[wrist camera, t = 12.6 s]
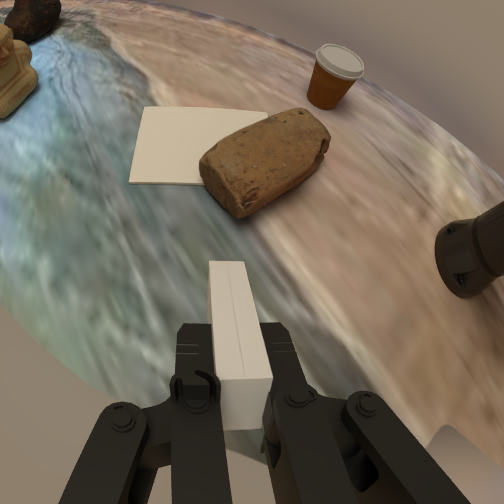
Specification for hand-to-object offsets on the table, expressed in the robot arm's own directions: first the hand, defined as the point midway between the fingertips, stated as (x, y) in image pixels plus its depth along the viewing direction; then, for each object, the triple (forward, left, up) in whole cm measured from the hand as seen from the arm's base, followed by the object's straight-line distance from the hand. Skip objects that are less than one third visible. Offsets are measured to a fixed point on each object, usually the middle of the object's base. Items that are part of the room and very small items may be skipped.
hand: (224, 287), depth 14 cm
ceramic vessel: (+46, -45, -27) cm, 70 cm away
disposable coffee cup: (-22, -44, -27) cm, 57 cm away
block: (-1, -18, -23) cm, 29 cm away
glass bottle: (+53, -74, -27) cm, 95 cm away
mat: (+1, -29, -27) cm, 40 cm away
